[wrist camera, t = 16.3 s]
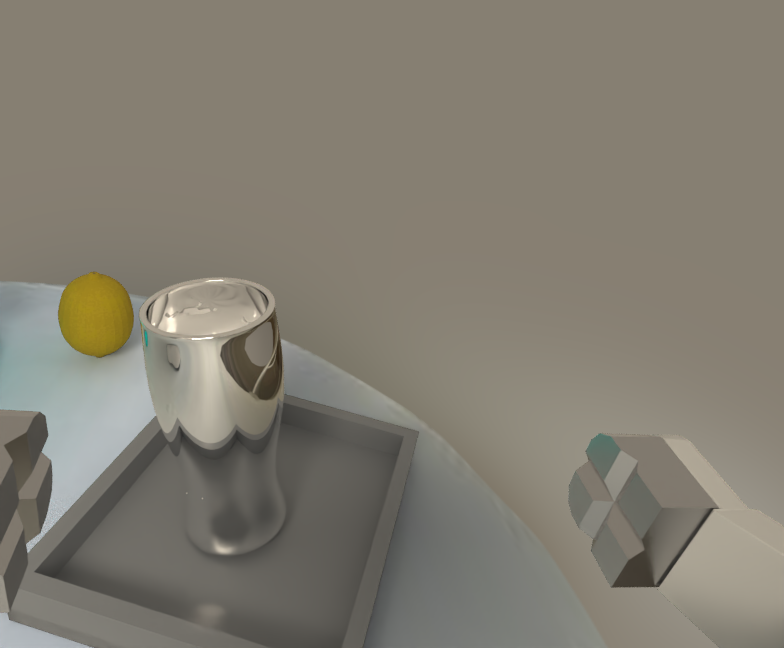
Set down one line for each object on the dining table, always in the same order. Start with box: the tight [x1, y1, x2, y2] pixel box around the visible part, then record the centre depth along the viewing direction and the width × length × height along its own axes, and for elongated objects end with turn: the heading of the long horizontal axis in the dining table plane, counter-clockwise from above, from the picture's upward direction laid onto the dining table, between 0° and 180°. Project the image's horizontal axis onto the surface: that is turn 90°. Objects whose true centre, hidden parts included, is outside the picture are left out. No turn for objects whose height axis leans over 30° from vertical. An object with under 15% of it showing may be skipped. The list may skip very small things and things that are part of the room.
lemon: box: [58, 272, 134, 358], centre depth 48 cm, size 6×6×8 cm
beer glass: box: [139, 278, 286, 556], centre depth 33 cm, size 7×7×15 cm
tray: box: [8, 394, 419, 648], centre depth 38 cm, size 18×20×3 cm
